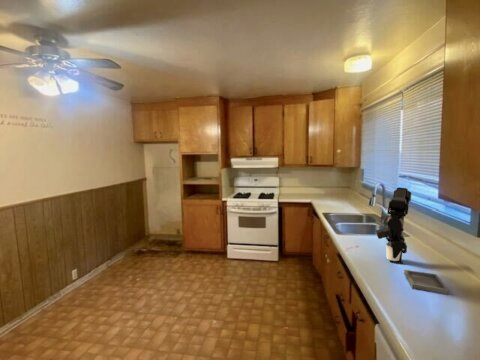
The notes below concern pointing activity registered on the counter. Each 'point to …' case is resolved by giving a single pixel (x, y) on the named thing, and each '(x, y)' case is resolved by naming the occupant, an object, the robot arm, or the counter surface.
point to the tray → (425, 282)
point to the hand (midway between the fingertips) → (393, 255)
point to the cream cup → (391, 253)
